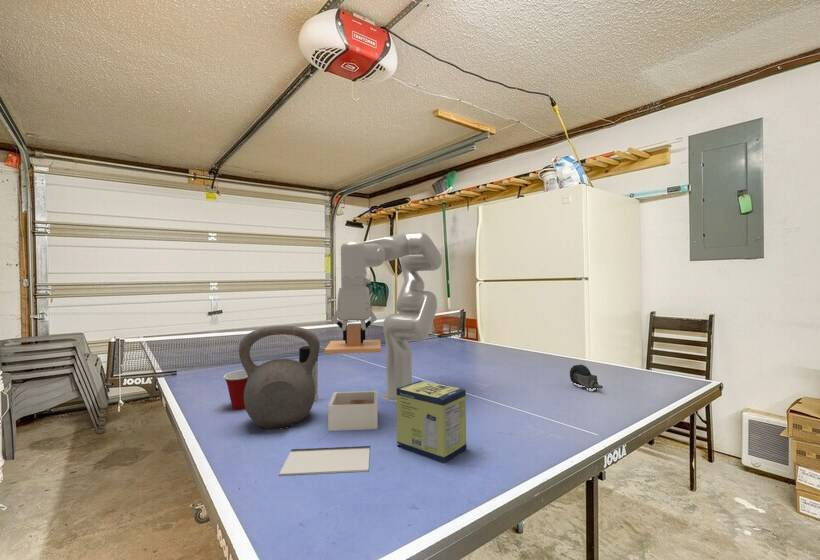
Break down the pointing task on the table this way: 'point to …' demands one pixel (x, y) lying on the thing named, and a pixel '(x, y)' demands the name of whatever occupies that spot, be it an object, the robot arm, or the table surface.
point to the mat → (326, 460)
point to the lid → (353, 343)
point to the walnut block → (360, 402)
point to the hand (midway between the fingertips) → (354, 342)
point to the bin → (353, 411)
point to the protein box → (431, 420)
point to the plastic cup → (236, 387)
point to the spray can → (303, 357)
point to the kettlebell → (279, 381)
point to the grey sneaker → (583, 377)
